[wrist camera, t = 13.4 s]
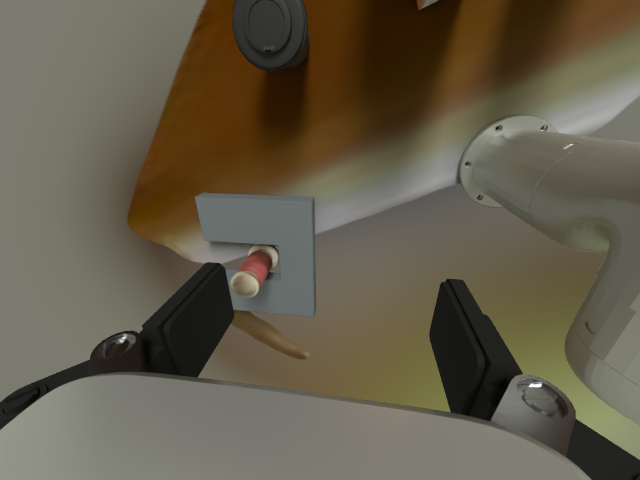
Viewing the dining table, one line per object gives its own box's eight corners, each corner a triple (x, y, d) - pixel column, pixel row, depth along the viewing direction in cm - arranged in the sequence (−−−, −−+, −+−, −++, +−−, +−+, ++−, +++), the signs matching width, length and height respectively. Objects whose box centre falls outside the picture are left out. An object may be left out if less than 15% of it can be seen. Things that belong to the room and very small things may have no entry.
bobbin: (278, 242, 49) (260, 272, 40) (280, 269, 52) (263, 302, 43) (248, 240, 50) (224, 269, 41) (252, 267, 53) (229, 299, 44)
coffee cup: (281, 91, 38) (257, 86, 29) (248, 31, 35) (211, 5, 27) (330, 56, 35) (320, 39, 26) (299, -12, 33) (276, -56, 24)
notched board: (314, 196, 44) (311, 201, 42) (316, 308, 55) (314, 317, 53) (202, 192, 47) (194, 197, 45) (225, 300, 57) (219, 308, 55)
